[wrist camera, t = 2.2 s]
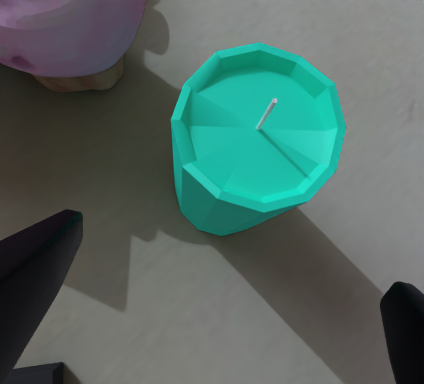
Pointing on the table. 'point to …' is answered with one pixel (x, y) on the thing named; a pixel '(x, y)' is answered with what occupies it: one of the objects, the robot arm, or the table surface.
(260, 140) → the candle
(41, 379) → the candle pad
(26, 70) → the cupcake
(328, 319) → the table surface
